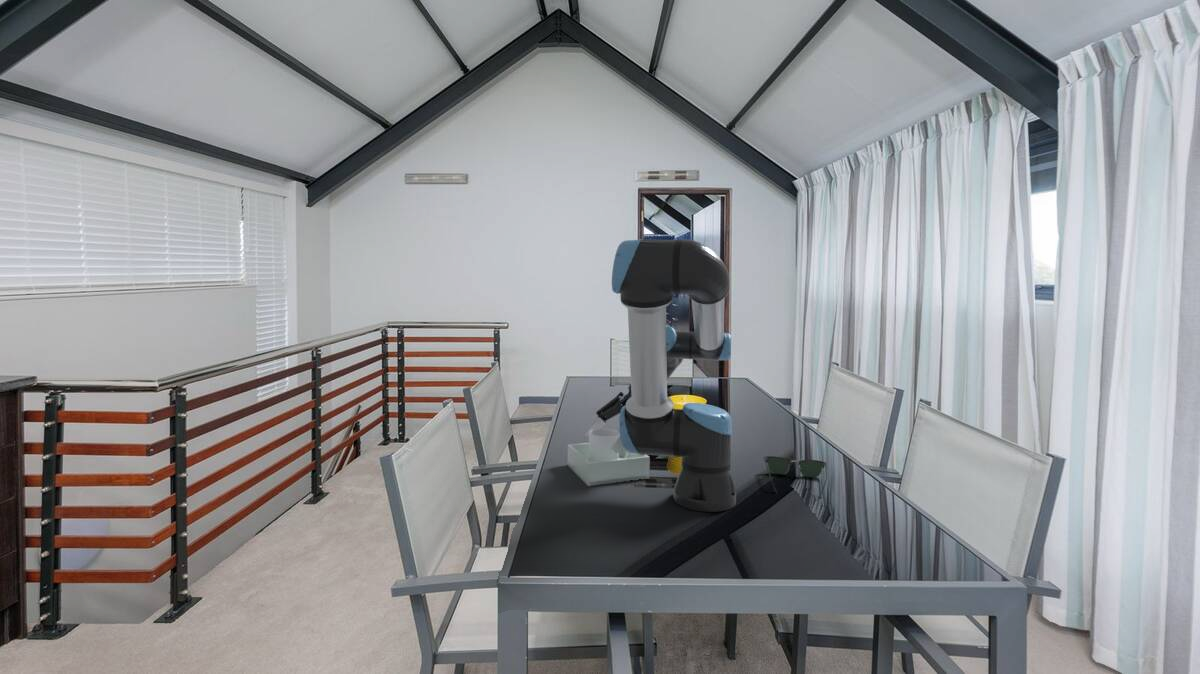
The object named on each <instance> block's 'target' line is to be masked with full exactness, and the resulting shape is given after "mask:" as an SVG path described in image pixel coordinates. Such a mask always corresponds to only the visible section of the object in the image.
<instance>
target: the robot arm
mask: <svg viewBox="0 0 1200 674" xmlns="http://www.w3.org/2000/svg"><path fill="white" fill-rule="evenodd" d="M615 252H616V253H615V256H614V260H613V264H612V272H611V273H612V274H611V290H612V292H613V293H615V294H617V295H618V294H620V303H621V305H623V306H624V307H625V308H626V309H627V322H628V324H627V325H628V345H629V365H630V366H629V367H630V370H629V371H630V384H629V385H628V388H627V389H628V393H627V394H624V393H623V391H620V392H619V393H618V394H617V395H616V396H615V397H614V398H612V399H611V400H610V401H609V402H607V403H606V404H605V405H604V406H602V407H600V408H599V409H598V410H597V411H596V412H595V414H596V415H597V418H596V419H595V421H594V422H593V423H592V425H591V426H590V427H589V428H588V430H587V431H586V432H585V434H584V436H585V437H586V438H587V439H589V431H591V430H593V429H601V428H603V427H605V425H606V423H607V421H608V420H610V419H612V418H615V416H618V415H619V416H618V417H619V419H618V423H619V426H618V427H619V428H618V429H619V436H618V438H617V439H616V440H615V441H614V443H613V444H612V445H611V447H610V448H611V449H612V450H613V451H614V452H615V453H617V454H618V453H619V451H620V450H621V449H622V447H624V449H625V450H626V451H628V452H630V453H637V454H640V455H645V454H646V455H648V456H649V455H650V456H661V457H673V458H675V457H676V458H681V468H680V471H679V473H678V476H677V479H676V482H675V485H674V487H673V500H674V502H675V503H676V504H677V505H678V506H681V507H683V508H686V509H688V510H692V511H698V512H706V513H713V512H714V513H716V512H724V511H728V510H730V509H732V508H734V507H735V506H736V505H737V504H736V503H737V492H736V487H735V485H734V482H733V477H732V474H731V441H732V440H731V438H732V434H733V430H732V417H731V415H730V413H729V412H727V410H726V409H723V408H721V407H719V406H715V405H711V404H707V403H701V402H687V403H684V405H683V406H682V408H681V409H680V408H674V405H675V404H674V401H673V399H671V397H669V396H668V379H669V378H670V377H672V375H673V374H674V372H675V371H676V370H677V368H678V367H679V366H680V365H681V364H682V363H683V361H684V360H701V361H715V362H718V361H729V360H730V358H731V356H732V355H731V354H732V353H731V352H732V334H730V333H728V332H725V303H726V302H725V298H726V297H727V295H728V294H729V291H730V274H729V272H728V269H727V267H726V264H725V263H724V261H723V260H722V259H721V258H720V256H719V255H718V254H717V253H715V252H714V251H713V250H712V249H711V248H710V247H709V246H707V245H705V244H704V243H701V242H699V241H695V240H692V239H642V238H638V239H631V240H629V239H627V240H623V241H621V242H620V244H619V245H618V247H617V249H616V251H615ZM673 295H688V297H689V299H690V300H691V306H692V307H691V309H692V318H693V330H694V331H681V330H680V331H679V330H678V331H676V330H675V329H674V328H673V327H672V326H670V325H668V324H667V307H668V306H669V305H670V304H671V303H672V302H673V300H674V297H673Z"/></svg>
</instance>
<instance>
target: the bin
mask: <svg viewBox="0 0 1200 674" xmlns="http://www.w3.org/2000/svg"><path fill="white" fill-rule="evenodd" d="M626 455H627V451H626V450H625V449H624V447H622V449H621V450H620V451H619V453H618V459H617V460H608V461H599V462H589V461H588V459H589V442H582V443H571V444H567V462H566V463H567V466H568V468H570V469H571V470H572V471H573V473H575V474H576V475H577V476H578V477H579V478H580V479H581V480H582V481H583V483H585V485H586V486H588V487H591V486H600V485H607V484H616V482H617V483H622V482H624V481H625V482H631V481H630V480H633V481H640V480H639V479H641V480H647V479H650V468H651V467H650V464H651V459H650V458H651V457H650V456H649V455H646V454H645V455H640V454H637V453H632V455H631V457H630V458H626V459H622V458H625V457H626Z"/></svg>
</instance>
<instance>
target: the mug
mask: <svg viewBox="0 0 1200 674" xmlns="http://www.w3.org/2000/svg"><path fill="white" fill-rule="evenodd" d="M619 435H620V431H618V430H616V429H613V428H601V429H593V430H591V431H589V438H588V443H589V459H588V461H589V462H599V461H608V460H617V459H618V454H617V453H615V452H614V451H613V450H612V449H611V448H610V447H611V445H612V444H613V443H614V441H615V440H616V439H617V438H618V436H619ZM631 455H632V453H630V452H628V451H627V455H626V457H625V458H622V459H626V458H630V457H631Z"/></svg>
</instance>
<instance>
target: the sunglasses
mask: <svg viewBox="0 0 1200 674" xmlns="http://www.w3.org/2000/svg"><path fill="white" fill-rule="evenodd" d="M763 459H764V462H765V463H764V464H765V466H766V469H767V470H766V471H767V472H768V475H769V479H770V481H771V483H772V486H773V490H774V493H775V494H778V492H777V489H776V487H775V483H774V481H773V479H772V476H771V474H778V475H786V474H787V473H788V472H789V471H790V468H791V466H790V465H791V463H793V462H794V463H797V464H798V465H799V468H798V470H799V472H800V474H801V475H802V476H803V477H806V478H815V479H816V478H818V477H819V476H820V475H821V474H822V471H823V469H824V468H825V481H824V485H823V487H822V490H821V491H820V493H819V496H818V499H820V497H821V496H822V494H823V492H824V488H825V486H826V484H827V480H828V479H827V478H828V469H827V467H828V466H827V462H826V461H822V460H816V459H802V460H799V461H798V460H795V459H794V460H793V459H792V460H790V459H788V458H786V457H784V456H783V457H782V456H775V455H774V456H773V455H771V456H766V455H765V456H763Z"/></svg>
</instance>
